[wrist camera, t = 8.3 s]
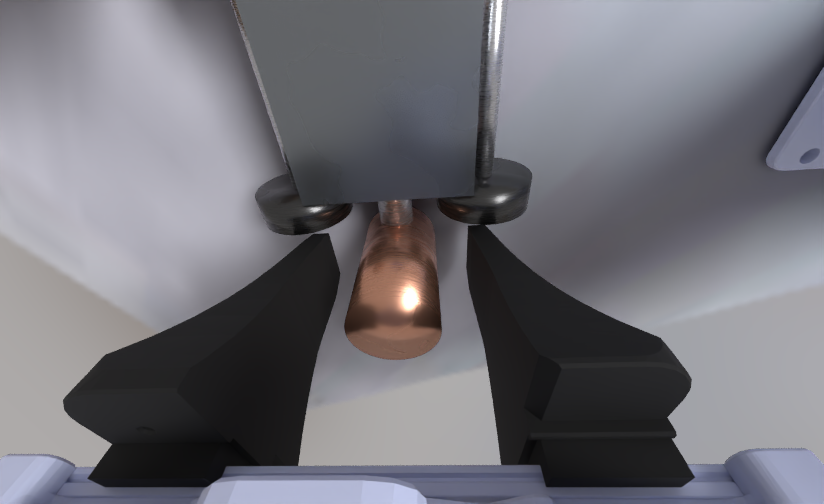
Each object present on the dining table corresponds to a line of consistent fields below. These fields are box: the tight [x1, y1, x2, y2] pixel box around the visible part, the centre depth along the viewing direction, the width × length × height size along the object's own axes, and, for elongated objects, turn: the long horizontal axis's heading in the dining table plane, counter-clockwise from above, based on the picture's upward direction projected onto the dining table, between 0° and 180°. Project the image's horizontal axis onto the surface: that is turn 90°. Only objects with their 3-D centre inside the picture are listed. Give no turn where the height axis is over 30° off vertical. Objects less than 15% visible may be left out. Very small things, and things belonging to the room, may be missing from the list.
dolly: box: [230, 0, 532, 235], centre depth 8 cm, size 9×8×3 cm
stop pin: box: [344, 199, 442, 360], centre depth 9 cm, size 3×8×5 cm, turn 4°
